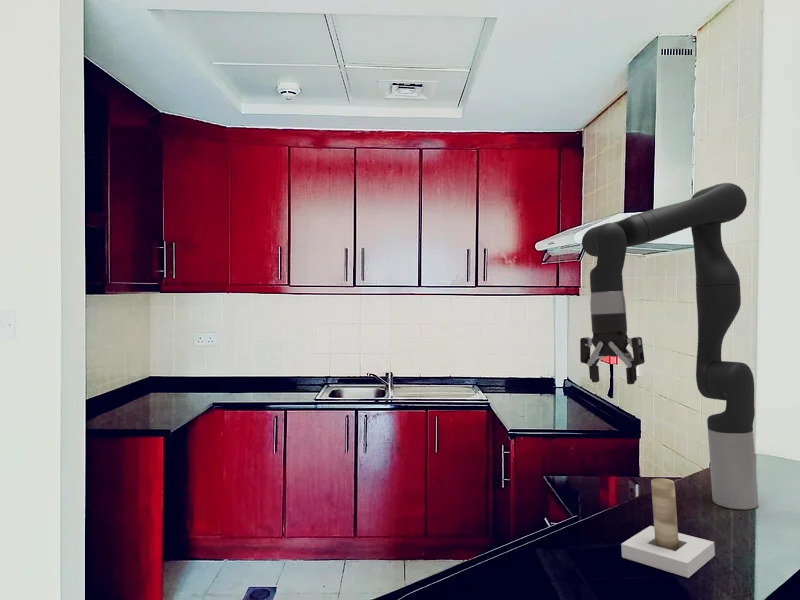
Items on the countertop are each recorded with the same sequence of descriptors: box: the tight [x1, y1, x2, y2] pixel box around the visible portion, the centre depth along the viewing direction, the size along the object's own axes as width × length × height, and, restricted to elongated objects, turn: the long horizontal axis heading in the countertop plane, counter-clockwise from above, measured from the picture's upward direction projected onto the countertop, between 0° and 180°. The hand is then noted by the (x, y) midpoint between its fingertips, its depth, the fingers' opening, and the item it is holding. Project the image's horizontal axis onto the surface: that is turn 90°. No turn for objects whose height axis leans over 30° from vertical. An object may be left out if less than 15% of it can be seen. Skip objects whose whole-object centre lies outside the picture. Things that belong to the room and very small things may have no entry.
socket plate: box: [620, 525, 716, 579], centre depth 104 cm, size 12×12×2 cm
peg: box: [650, 477, 679, 551], centre depth 104 cm, size 4×4×14 cm
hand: (612, 383), depth 125 cm, fingers open, 8 cm apart
